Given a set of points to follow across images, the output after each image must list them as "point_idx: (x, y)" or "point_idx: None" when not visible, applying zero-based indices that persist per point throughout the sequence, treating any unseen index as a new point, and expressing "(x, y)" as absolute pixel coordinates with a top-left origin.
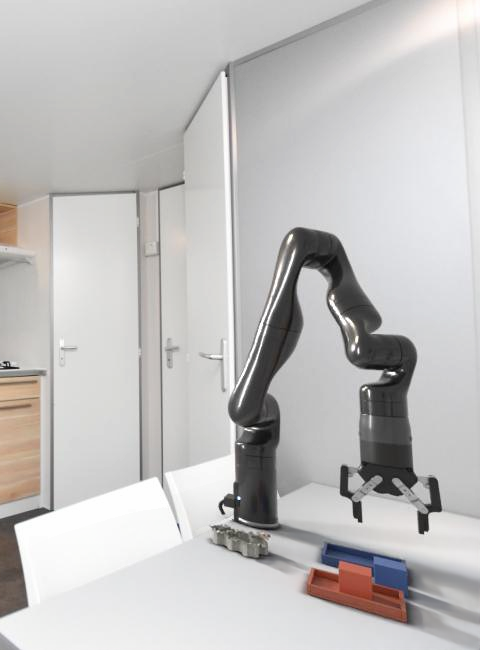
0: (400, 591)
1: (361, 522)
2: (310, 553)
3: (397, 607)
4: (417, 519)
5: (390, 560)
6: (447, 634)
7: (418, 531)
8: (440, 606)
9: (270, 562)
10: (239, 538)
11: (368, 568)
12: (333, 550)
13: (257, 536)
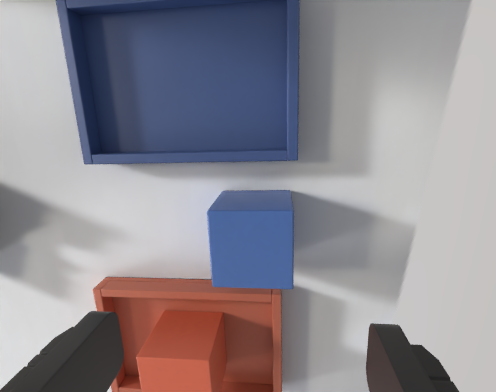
0: (275, 302)
1: (119, 362)
2: (57, 94)
3: (268, 347)
4: (396, 384)
5: (252, 218)
6: (342, 385)
7: (369, 345)
8: (351, 252)
9: (18, 256)
10: None
11: (203, 366)
12: (97, 18)
13: None
